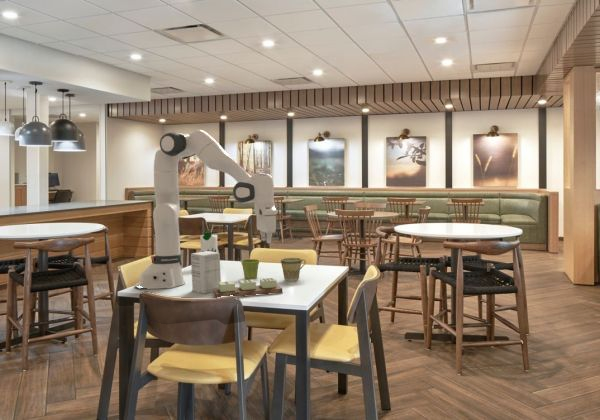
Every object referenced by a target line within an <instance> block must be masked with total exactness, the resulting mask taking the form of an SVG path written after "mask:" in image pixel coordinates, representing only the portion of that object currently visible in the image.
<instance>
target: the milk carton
mask: <svg viewBox="0 0 600 420" xmlns="http://www.w3.org/2000/svg"><path fill="white" fill-rule="evenodd" d="M199 238H200V252H204V251H211V252H218V253H219V251H218V249H219V248H218V234H212V231H204V232H203V234H202V235H200V237H199Z"/></svg>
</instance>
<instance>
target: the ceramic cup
mask: <svg viewBox="0 0 600 420" xmlns="http://www.w3.org/2000/svg"><path fill="white" fill-rule="evenodd" d="M303 261H304V263H303V264H302V262H303ZM280 263H281V268H282V274H283V278H284V281H286V282H297V281H298V280H299V279H300V273H301V270H302V268H303V267H305V265H306V259H302V258H300V257H284V258H281V259H280Z"/></svg>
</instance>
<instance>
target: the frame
mask: <svg viewBox="0 0 600 420" xmlns="http://www.w3.org/2000/svg"><path fill="white" fill-rule="evenodd" d="M212 293H213V296H214V297H215V298H216V297H221V296H230V295H233V296H242V297H246V296H245V295H253V296H257V295H256V294H265V295H270V294H269V293H276V294H283V287H281V285H279V284H277V287H274V288H262V287H261V286H260V284H258V285H257V284H256V289H251V290H241V288H240V287H239V286H235V291H227V292H220V290H219V289H213V292H212Z"/></svg>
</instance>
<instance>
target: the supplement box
mask: <svg viewBox="0 0 600 420" xmlns="http://www.w3.org/2000/svg"><path fill="white" fill-rule="evenodd" d="M220 255H221V253H220V252H219V251H218V252H211V251H204V252H201V251H199V252H193V253H191V254H190V262H191V263H190V264H191V265H190V267H191V283H192V284H191V285H192V286H191V287H192V289H191V290H192V292H197V293H201V294H209V293H213V289H219V285H218V282H222V280H221V278H222V277H221V257H220Z"/></svg>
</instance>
